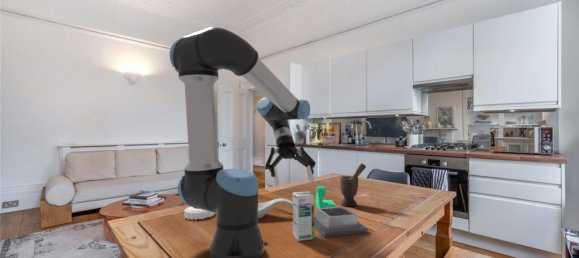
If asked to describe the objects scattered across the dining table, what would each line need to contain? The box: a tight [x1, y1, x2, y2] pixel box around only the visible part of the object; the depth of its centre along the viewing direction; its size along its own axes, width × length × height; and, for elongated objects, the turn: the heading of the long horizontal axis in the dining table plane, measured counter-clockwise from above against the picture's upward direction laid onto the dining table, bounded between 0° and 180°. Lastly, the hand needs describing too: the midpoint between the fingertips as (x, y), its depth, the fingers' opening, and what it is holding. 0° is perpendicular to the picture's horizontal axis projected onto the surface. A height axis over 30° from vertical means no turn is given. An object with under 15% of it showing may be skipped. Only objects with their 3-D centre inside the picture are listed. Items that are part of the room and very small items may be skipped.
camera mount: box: [315, 185, 338, 209], centre depth 115 cm, size 12×8×10 cm, turn 3°
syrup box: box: [292, 190, 315, 242], centre depth 84 cm, size 6×6×14 cm
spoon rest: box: [258, 197, 293, 220], centre depth 106 cm, size 24×12×7 cm, turn 93°
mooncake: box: [183, 206, 216, 221], centre depth 107 cm, size 12×12×4 cm
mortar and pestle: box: [339, 163, 367, 207], centre depth 122 cm, size 12×9×20 cm
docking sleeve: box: [314, 205, 369, 239], centre depth 93 cm, size 16×16×6 cm
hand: (295, 182), depth 94 cm, fingers open, 13 cm apart
